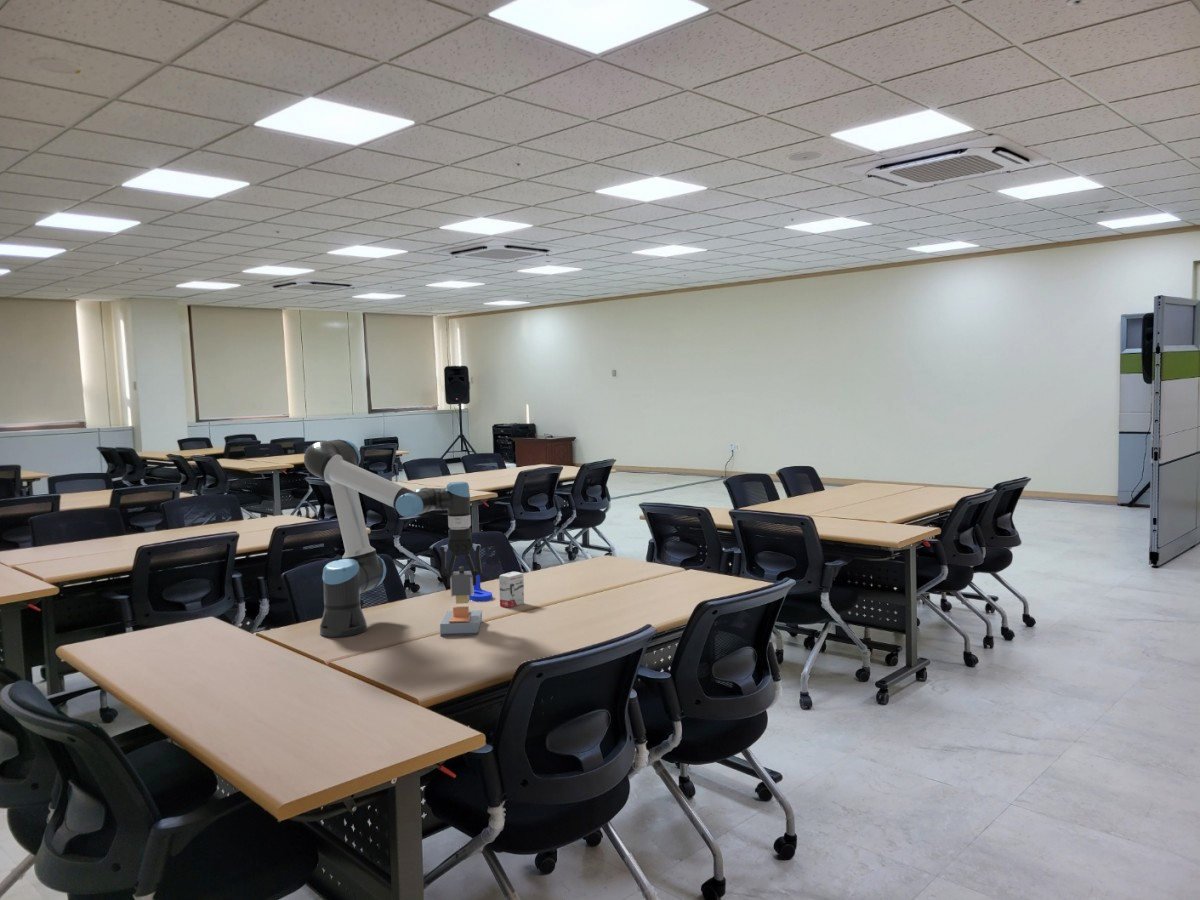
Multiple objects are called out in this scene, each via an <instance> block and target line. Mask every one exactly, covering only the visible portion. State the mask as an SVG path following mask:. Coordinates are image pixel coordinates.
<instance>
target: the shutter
mask: <svg viewBox="0 0 1200 900" xmlns="http://www.w3.org/2000/svg"><path fill="white" fill-rule="evenodd" d="M452 611H453V616H451V618H450V620H449V622H469V620H470V618H471V615H469V611H470V610H469V606H453V607H452Z"/></svg>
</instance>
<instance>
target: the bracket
mask: <svg viewBox="0 0 1200 900" xmlns="http://www.w3.org/2000/svg"><path fill="white" fill-rule="evenodd" d="M476 577H477V584H476V585H474V595H473V596H471V595H469V601H471V600H472V602H478V601H480V602H487V601H491V600H492V599H493V592H491V591H488V590H484V589H482V588H481V587H482V586H481V576H480V574H478V575H477V576H476Z"/></svg>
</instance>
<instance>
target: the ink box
mask: <svg viewBox="0 0 1200 900" xmlns="http://www.w3.org/2000/svg"><path fill="white" fill-rule="evenodd" d="M498 577H499V578H498V580H499V583H498V584H499V606H500V607H503V608H508V609H509V608H513V607H517V606H520V605H523V604H525V590H524V589H525V586H524V573H523V572H519V571H510V572H506V573H503V574H500V575H499V576H498Z"/></svg>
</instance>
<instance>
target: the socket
mask: <svg viewBox="0 0 1200 900" xmlns="http://www.w3.org/2000/svg"><path fill="white" fill-rule="evenodd" d="M469 615H471V618H470V620H469V622H449V620H450V618H451V616H453V610H451V611H449V610H447V611H446V613H445V614H444V616H443V618H442V620H441V621H440V624H439V625H440V626H439V628H440V629H439V630H440V637H454V636H457V637H459V636H460V637H461V636H478V634H479V631H480V629H481V627H482V624H483V610H481V609H480V610H469Z"/></svg>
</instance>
